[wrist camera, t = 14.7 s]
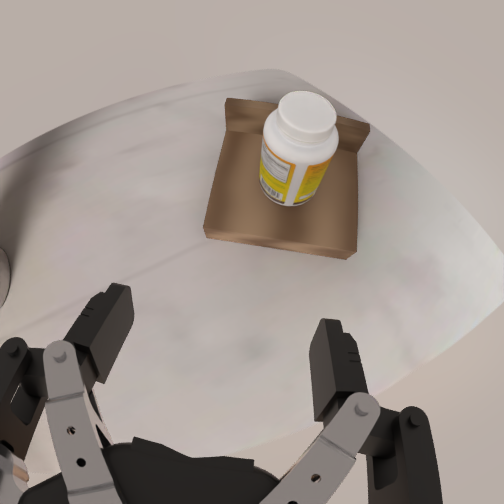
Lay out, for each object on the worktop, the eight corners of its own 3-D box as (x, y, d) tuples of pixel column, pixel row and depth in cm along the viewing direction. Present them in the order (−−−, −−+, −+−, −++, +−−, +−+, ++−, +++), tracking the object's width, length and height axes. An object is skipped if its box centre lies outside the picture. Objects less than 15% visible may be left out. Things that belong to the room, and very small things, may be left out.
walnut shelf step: (206, 237, 28) (196, 209, 22) (229, 139, 31) (226, 97, 25) (345, 259, 28) (374, 238, 21) (348, 160, 31) (369, 123, 25)
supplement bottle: (317, 163, 28) (347, 92, 18) (313, 213, 26) (349, 151, 16) (262, 153, 28) (271, 76, 18) (253, 202, 26) (259, 132, 16)
